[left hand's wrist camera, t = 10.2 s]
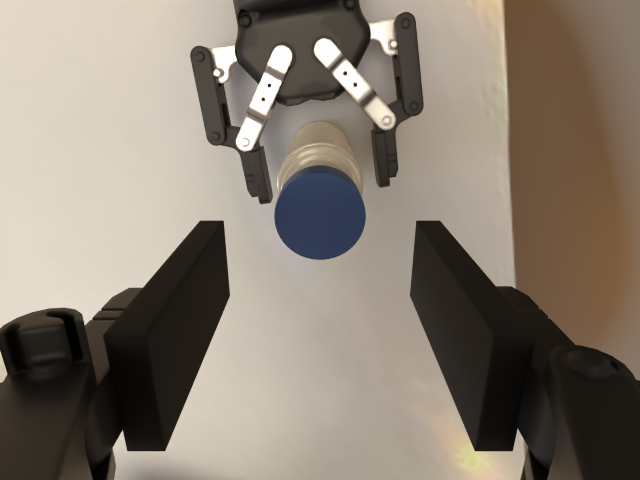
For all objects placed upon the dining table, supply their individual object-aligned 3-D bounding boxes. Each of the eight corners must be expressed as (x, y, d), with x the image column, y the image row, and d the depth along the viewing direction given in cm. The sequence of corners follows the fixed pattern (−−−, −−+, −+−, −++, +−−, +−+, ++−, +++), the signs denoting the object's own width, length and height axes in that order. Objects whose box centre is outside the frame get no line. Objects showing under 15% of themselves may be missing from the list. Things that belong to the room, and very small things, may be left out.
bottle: (280, 138, 35) (244, 192, 18) (332, 110, 34) (344, 139, 17) (308, 189, 37) (298, 282, 20) (358, 163, 36) (392, 237, 19)
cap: (262, 189, 20) (257, 199, 18) (338, 149, 19) (340, 156, 17) (303, 258, 21) (301, 273, 19) (375, 223, 20) (380, 236, 19)
